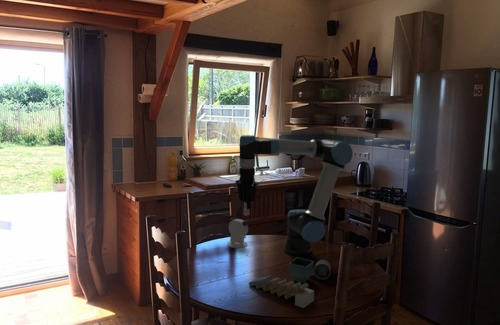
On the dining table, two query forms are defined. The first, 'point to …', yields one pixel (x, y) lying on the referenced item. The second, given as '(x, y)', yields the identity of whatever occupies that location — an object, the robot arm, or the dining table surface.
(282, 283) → the domino
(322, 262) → the ceramic mug
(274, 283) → the domino
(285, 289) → the domino
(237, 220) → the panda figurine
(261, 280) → the domino
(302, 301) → the end block
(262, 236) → the dining table surface
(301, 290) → the domino
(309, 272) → the flower pot
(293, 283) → the domino
